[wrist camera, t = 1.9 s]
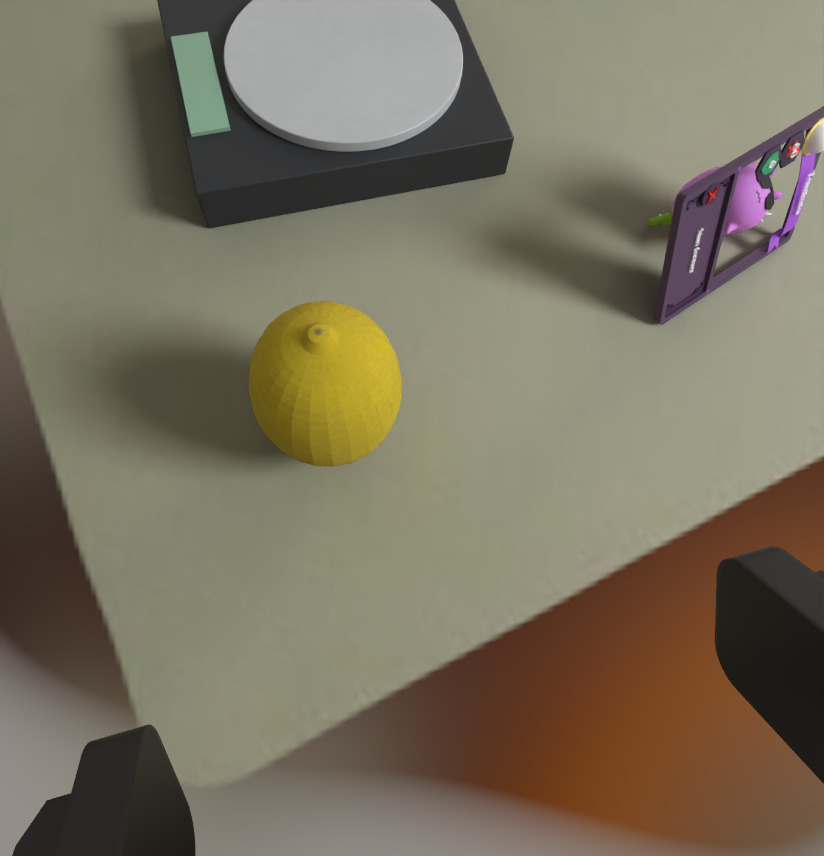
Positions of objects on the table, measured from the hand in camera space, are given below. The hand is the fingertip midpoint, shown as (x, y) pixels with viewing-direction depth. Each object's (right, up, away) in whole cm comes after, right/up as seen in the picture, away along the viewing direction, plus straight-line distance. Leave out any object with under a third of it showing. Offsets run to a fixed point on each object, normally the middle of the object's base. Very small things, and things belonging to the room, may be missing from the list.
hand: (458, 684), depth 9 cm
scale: (-5, +21, +26) cm, 34 cm away
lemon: (-4, +3, +19) cm, 20 cm away
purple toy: (+13, +12, +24) cm, 30 cm away
